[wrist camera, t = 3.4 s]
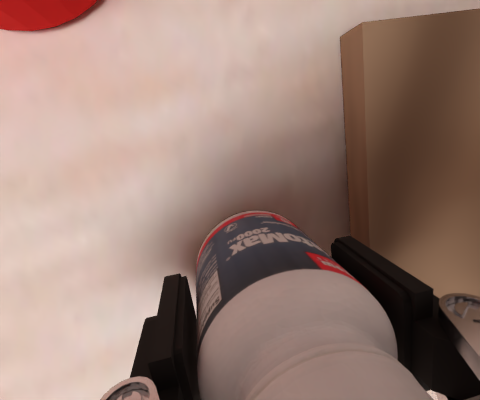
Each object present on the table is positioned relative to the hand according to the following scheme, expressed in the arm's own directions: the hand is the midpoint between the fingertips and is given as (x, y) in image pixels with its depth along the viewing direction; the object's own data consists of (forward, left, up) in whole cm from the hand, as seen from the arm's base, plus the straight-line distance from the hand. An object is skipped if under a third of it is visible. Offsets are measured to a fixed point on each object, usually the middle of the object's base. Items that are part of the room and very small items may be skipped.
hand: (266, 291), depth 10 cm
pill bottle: (0, 0, -3) cm, 3 cm away
